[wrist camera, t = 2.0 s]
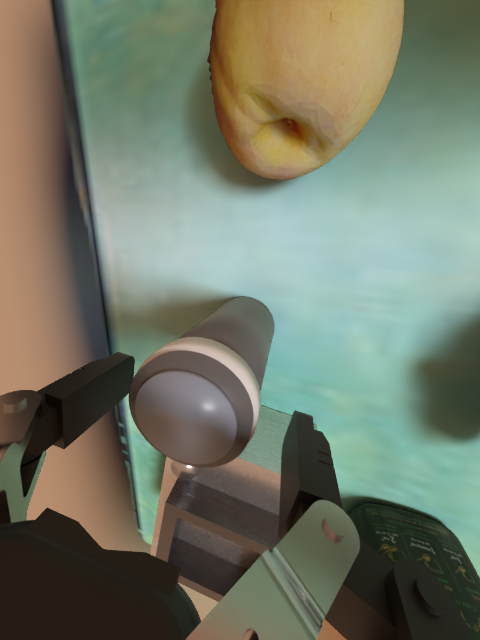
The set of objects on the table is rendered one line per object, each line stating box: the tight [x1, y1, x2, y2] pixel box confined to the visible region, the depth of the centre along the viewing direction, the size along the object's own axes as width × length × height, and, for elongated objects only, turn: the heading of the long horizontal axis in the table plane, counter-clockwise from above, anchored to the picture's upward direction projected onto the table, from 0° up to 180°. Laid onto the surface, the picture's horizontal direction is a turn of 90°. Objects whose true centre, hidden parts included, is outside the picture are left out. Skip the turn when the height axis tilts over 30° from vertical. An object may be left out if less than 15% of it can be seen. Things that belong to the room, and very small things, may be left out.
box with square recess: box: [150, 405, 317, 602], centre depth 20 cm, size 16×11×8 cm
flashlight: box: [129, 297, 274, 468], centre depth 14 cm, size 5×5×11 cm
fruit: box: [207, 0, 404, 180], centre depth 10 cm, size 8×8×8 cm
